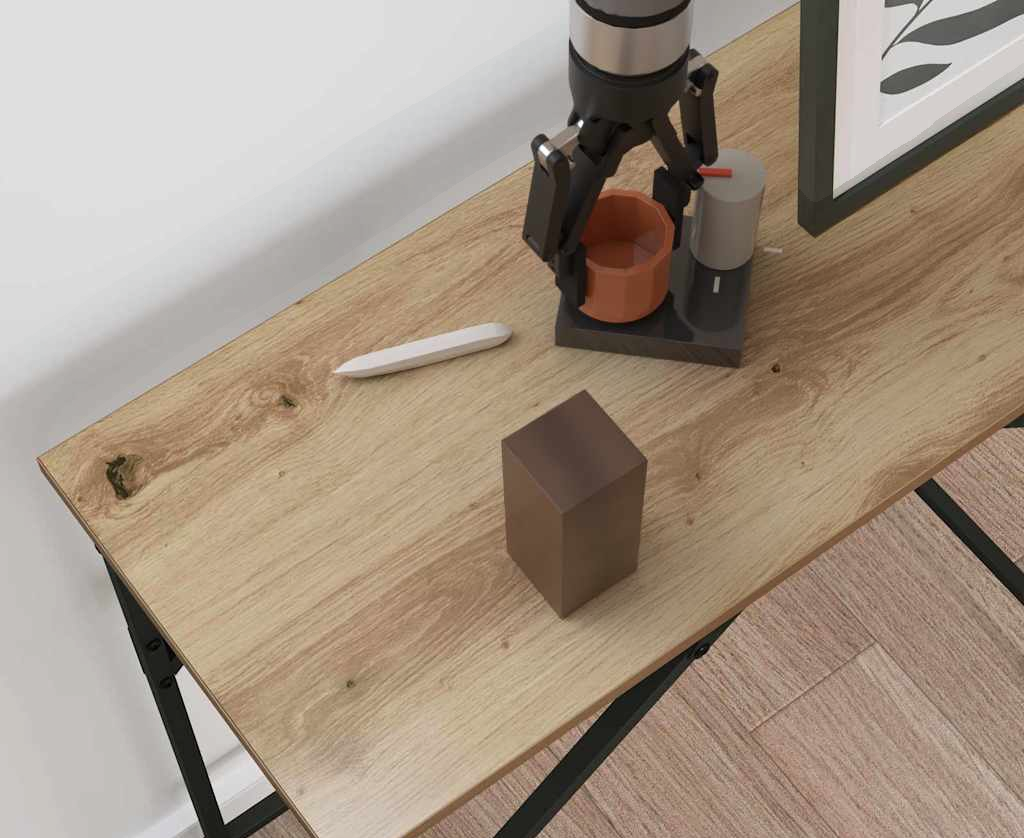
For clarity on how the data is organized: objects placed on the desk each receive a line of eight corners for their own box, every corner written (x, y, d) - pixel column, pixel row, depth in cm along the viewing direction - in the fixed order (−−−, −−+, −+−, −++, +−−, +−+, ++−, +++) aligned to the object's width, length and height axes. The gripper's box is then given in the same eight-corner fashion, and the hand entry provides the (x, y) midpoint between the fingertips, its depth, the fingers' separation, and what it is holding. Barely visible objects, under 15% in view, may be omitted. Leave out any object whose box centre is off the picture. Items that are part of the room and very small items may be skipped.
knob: (755, 220, 125) (767, 147, 118) (754, 272, 123) (766, 200, 115) (690, 217, 125) (699, 143, 118) (688, 268, 123) (696, 196, 116)
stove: (783, 226, 128) (787, 204, 126) (766, 372, 121) (771, 352, 119) (581, 202, 129) (582, 180, 127) (554, 345, 123) (554, 325, 120)
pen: (331, 374, 122) (329, 361, 120) (509, 327, 124) (508, 314, 122) (336, 390, 121) (334, 378, 120) (515, 343, 123) (514, 331, 121)
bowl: (674, 245, 123) (679, 195, 117) (662, 329, 119) (666, 280, 114) (573, 234, 123) (573, 183, 118) (557, 316, 120) (557, 267, 115)
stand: (581, 503, 116) (584, 388, 103) (637, 569, 113) (648, 459, 100) (506, 551, 114) (500, 440, 101) (561, 619, 112) (562, 514, 98)
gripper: (723, -69, 104) (697, 169, 124) (455, 76, 98) (473, 300, 118) (799, -2, 101) (759, 231, 121) (527, 151, 95) (533, 369, 115)
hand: (617, 265), depth 119 cm, fingers closed on bowl, 8 cm apart
